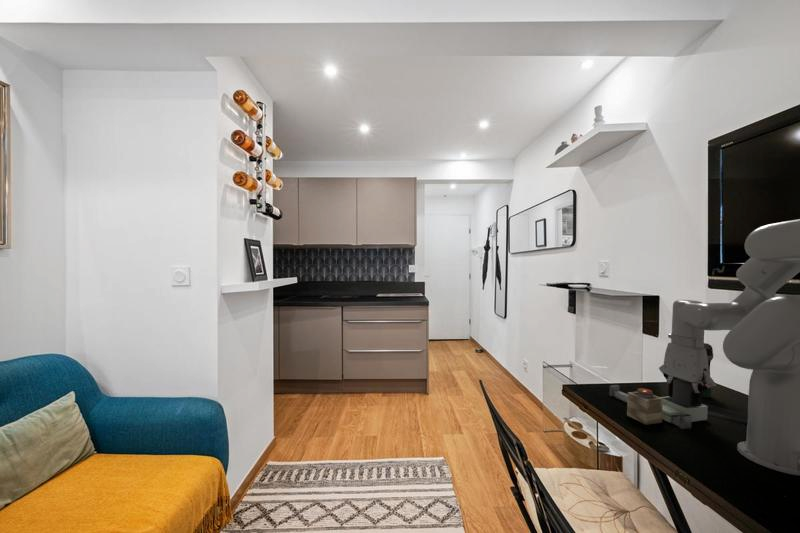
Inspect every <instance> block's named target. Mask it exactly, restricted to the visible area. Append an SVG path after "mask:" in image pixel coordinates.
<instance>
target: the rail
mask: <svg viewBox="0 0 800 533" xmlns="http://www.w3.org/2000/svg"><path fill="white" fill-rule="evenodd" d="M608 396H610V397H613V398H616V399H618V400H620V401H622V402H624V403H627V401H628V393H626V392H623V391H620V385H618V384H612V385H609V394H608ZM664 414H665V413H664ZM666 415H667V414H666ZM668 416H669V415H668ZM671 417H672V420H671V423H670V424H673V425H675V426H677V427H679V429H682V430H686V429H692V424H693V423H692V415H689V414H685V415H680V417H679V416H677V415H672V416H671Z"/></svg>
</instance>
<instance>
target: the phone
mask: <svg viewBox="0 0 800 533" xmlns="http://www.w3.org/2000/svg"><path fill="white" fill-rule="evenodd" d="M702 404H703V405H706V406H708V410H707V416H712V417H715V418H719V419H723V420H726V421H727V420H728V421H731V422H734V423H739V424H742V425H745V426H746V425H747V419H748V413H744V412H740V411H737V410H731V409H728V408H724V407H720V406H717V405H716V406H715V405H711V404H707V403H703V402H702Z"/></svg>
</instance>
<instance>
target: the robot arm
mask: <svg viewBox="0 0 800 533" xmlns="http://www.w3.org/2000/svg"><path fill="white" fill-rule="evenodd" d="M744 241H745V242H744V250H745V253H746V254H747V255H748V256H749V259H747V260H746V261H745V262H744V263H743V264H742V265H741V266H740V267H739V268H737V270H736V273H735V275H736V276H735V277H736V278H737V280H738V281H739V282H740V283H741V284H742V285H744V286H745V288H744V289H743V290H742V292H741V293H740V294H739V295H738V296H736V297H735V298H734V299H733V300H732V301H730V302H702V301H698V300H692V299H677V300H674V302H673V304H672V315H671V317H672V318H671V333H669V334H667V337H668V338H669V339H670V341H671V342H668V343H667V346H666V350H665V353H664V359H663V364H662V365H660V367H658V369H659V371H660V372H661V374H662V376H663V377H664V378H665V380H666V383H667V384H668V388H667V389H668V396H669V397H672V395H673V380H674V379H676V378H678V379H681V380H684V381H687V382H691V383H692V386H693V389H694V392H692V400H691V404H692V405H693V406H699V405H701V404H702V403H703V400H704V399H703V398H704V397H703V393H704V392H705V391H707V390H709V389H710V388H711V389H713V388H715V387H717V383H716V382H715V381H714V379H713V378H712V377H711V375H710V376H709V368H708V357H707V352H706V349H704V343H705V331H729V332H727V334H726V335H725V337H724V339H723V341H722V342H723V343H722V350H723V353H724V356H725V357H726V358H727V360H728V361H730V362H731V364H733V365H735V366H737V367H739V368H742V369H745V370H751V374H750V378H749V384H748V400H747V401H748V402H747V414H748V419H747V426H746V439H745V441H740V442H738V443H737V446H736V448H737V449H736V450H737V451H738V453H739V454H740V455H741V456H743V457H744V458H746V459H747V460H749V461H752V462H753V463H755V464H758V465H760V466H762V467H764V468H765V467H766V468H767V469H770V470H774V471H776V472H780V473H784V474H788V475H793V476H799V477H800V294H783V295H782V294H781V295H776V292H777V291H778V290H780V289H781V288H782V287H783V286H784V285H786V284H787V283H788V282H789V281H790V280H792V279H793V278H794V277H795V276H796V275H798V274H799V273H800V218H798V219H792V220H786V221H781V222H776V223H775V222H774V223H769V224H766V225H765V224H764V225H761V226H759V227H757V228H755V229H754V230H753V231H751V232H750V233H749V234H748V236H747V237H746V239H745V240H744ZM703 382H706V384H705V385H703Z"/></svg>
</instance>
